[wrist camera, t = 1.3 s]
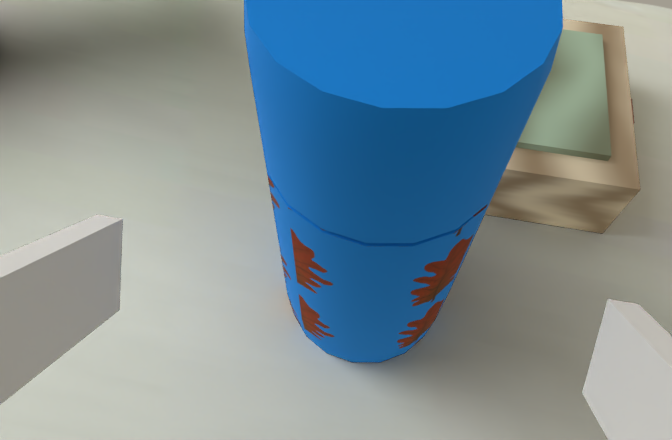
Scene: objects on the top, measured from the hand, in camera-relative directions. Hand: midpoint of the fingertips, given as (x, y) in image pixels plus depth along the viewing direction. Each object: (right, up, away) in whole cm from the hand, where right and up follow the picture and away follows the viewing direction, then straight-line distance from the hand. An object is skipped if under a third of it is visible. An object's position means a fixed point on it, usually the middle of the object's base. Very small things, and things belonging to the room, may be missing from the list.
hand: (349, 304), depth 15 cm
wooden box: (+13, +9, +32) cm, 36 cm away
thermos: (+2, -3, +25) cm, 25 cm away
